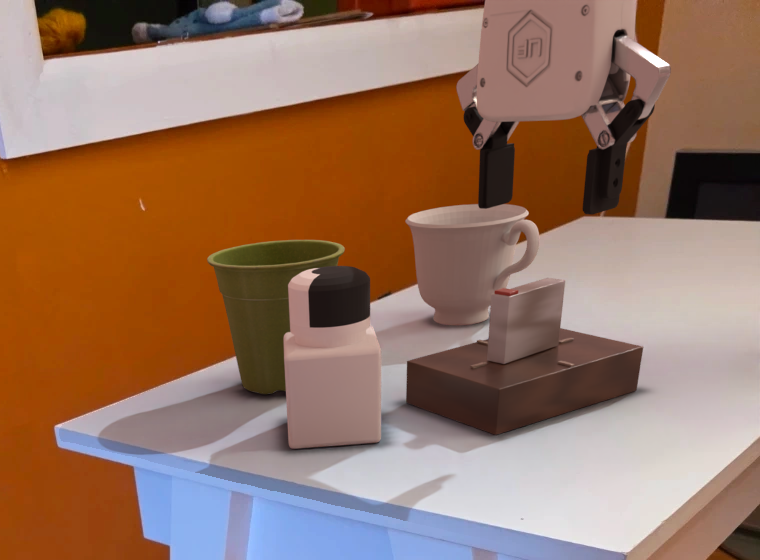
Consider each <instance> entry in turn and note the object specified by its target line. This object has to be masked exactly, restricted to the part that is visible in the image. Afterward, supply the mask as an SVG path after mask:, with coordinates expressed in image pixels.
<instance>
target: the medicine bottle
mask: <svg viewBox="0 0 760 560" xmlns="http://www.w3.org/2000/svg"><path fill="white" fill-rule="evenodd" d="M288 294H289V315H290V332H287V333H286V334H285V335H284V365H285V383H286V391H285V401H286V418H287V419H286V420H287V439H288V440H287V441H288V447H289V448H290V449H291V450H297V449H309V448H323V447H324V448H325V447H337V446H349V445H351V446H352V445H361V444H362V445H363V444H375V443H380V441H381V439H382V349H381V345H380V343H379V340H378V337H377V334H376V332H375V331H376V330H375V328H374V327H373V326H372V325H371V277H370V275H368V273H367V272H366V271H364V270H363V269H360V268H358V267H355V266H350V265H337V266H327V267H319V268H313V269H309V270H306V271H303V272H301V273H300V274H298V275H296V276H295V277H293V278H292V279H291V281H290V282H289V284H288Z"/></svg>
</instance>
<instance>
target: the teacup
mask: <svg viewBox="0 0 760 560" xmlns="http://www.w3.org/2000/svg"><path fill="white" fill-rule="evenodd" d="M529 214H530V213H529V211H528V210H527V208H525V207H524V206H521V205H515V204H509V203H506V204H502V205H498V206H495V207H491V208H487V209H481V208H479V206H478V203H471V204H459V205H458V204H457V205H449V206H441V207H435V208H430V209H425V210H421V211H418V212H415V213H412V214H410V215H408V217H407V218H406V219H405V220H404V221H405V224H407V226H408V227H409V229H410V232H411V235H412V243H413V250H414V261H415V270H416V271H415V274H416V281H417V288H418V292H419V296H420V297H421V299H422V300H423V302H424V303H425V304H426V305H428V306H429V307H431V308H433V309H434V315H433V321H434V322H435V323H437V324H440V325H444V326H445V325H446V326H468V325H469V326H470V325H474V324H475V325H476V324H479V323H483V322H485V321H487V320H488V319H490V312H489V308H490V307H491V295H492V294H494V293H495V290H499V289H502V288H507V287H508V285H509V281H510V277H511V275H513V274H516V273H519V272H522V271H523V270H525V269H527V268H528V267H529V266H530V265H531V264H532V263H533V262H534V261H535V259H536V257H537V255H538V252H539V250H540V249H539V248H540V239H541V238H540V232H539V228H538V226H537V224H536V223H534V222H533V221H532V220H529V219H526V218H527V217H528V216H529ZM522 233H523V234H524V235H525V238H526V248H525V252H524V253H523V255H522V256H521V258H520V259H519V260H518V261H516V262H515V263H514V258H515V252H516V247H517V243H518V241H519V240H520V236H521V234H522Z"/></svg>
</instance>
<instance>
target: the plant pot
mask: <svg viewBox="0 0 760 560" xmlns="http://www.w3.org/2000/svg"><path fill="white" fill-rule="evenodd" d="M345 250H346V248H345V247H344V245H342V244H341V243H338V242H334V241H333V242H332V241H329V240H320V239H288V240H287V239H286V240H272V241H261V242H256V243H255V242H254V243H248V244H242V245H238V246H233V247H229V248H224V249H221V250H219V251H218V250H217V251H216V252H213V253H212V254H210V255H209V256H208V257H207V259H206V261H207V264H208V265H210V266H211V267H212V268H213V270H214V272H215V276H216V281H217V286H218V287H217V288H218V291H219V293H220V294H221V296H222V299H223V303H224V308H225V313H226V316H227V322H228V326H229V331H230V336H231V341H232V345H233V350H234V354H235V358H236V362H237V363H236V364H237V368H238V373H239V377H240V381H241V385H242V387H243V388H244V389H245V390H247V391H249V392H253V393H258V394H260V395H272V394H274V393H276V392H278V391H283V392H286V383H285V365H284V335H285V334H286V333H287V332H290V315H289V294H288V284H289V282H290V281H291V279H292V278H293V277H295V276H296V275H298V274H300V273H301V272H303V271H306V270H309V269H313V268H319V267H327V266H339V259H340V257H342V256H343V255H344V253H345Z"/></svg>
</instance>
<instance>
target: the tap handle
mask: <svg viewBox="0 0 760 560" xmlns="http://www.w3.org/2000/svg"><path fill="white" fill-rule="evenodd" d="M565 287H566V280H565V279H560V278H554V277H553V278H552V277H545V278H541V279H538V280H535V281H532V282H528V283H525V284H521V285H519V286H514V287H511V288H507V287H506V288H502V289H499V290H495V293H494V294H492V295H491V305H490V307H489V308H490V309H489V324H488V338H487V339H488V353H487V360H488V361H492V362H497V363H501V364H506V363H509V362H512V361H514V360H517V359H520V358H523V357H526V356H529V355H532V354H535V353H538V352H541V351H544V350H546V349H549V348H552V347H555V346H558V345H559V335H560V328H561V325H562V315H563V307H564V298H565V297H564V296H565Z"/></svg>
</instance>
